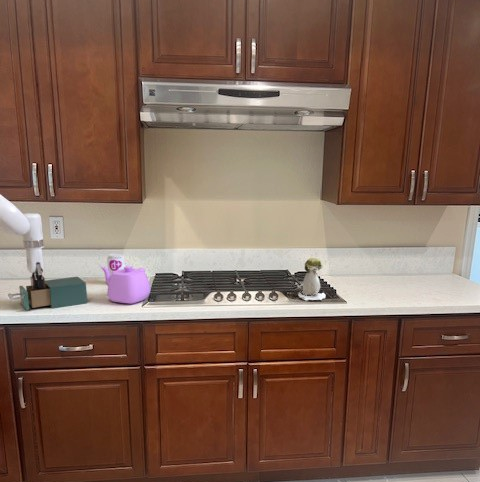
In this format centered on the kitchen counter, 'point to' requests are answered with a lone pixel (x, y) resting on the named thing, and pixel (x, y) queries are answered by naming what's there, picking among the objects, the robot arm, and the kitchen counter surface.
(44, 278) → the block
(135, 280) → the teapot
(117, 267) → the supplement can
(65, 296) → the cabinet
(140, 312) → the kitchen counter surface
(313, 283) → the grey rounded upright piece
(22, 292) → the drawer
